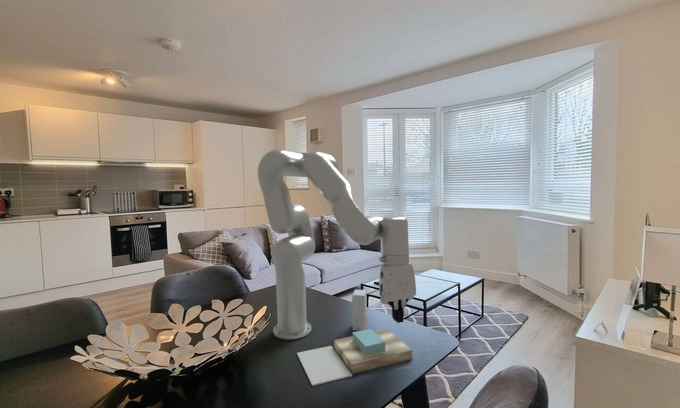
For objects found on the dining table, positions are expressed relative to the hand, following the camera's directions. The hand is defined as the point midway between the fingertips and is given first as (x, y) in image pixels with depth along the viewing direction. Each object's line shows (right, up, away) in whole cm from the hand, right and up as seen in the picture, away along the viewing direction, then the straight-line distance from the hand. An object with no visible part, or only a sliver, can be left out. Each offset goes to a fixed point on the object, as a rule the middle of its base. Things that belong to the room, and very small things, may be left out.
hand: (398, 320), depth 95 cm
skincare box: (-10, -8, +15) cm, 20 cm away
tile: (-9, -5, -3) cm, 11 cm away
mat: (-22, -9, -7) cm, 25 cm away
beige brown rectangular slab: (-8, -9, -2) cm, 12 cm away
